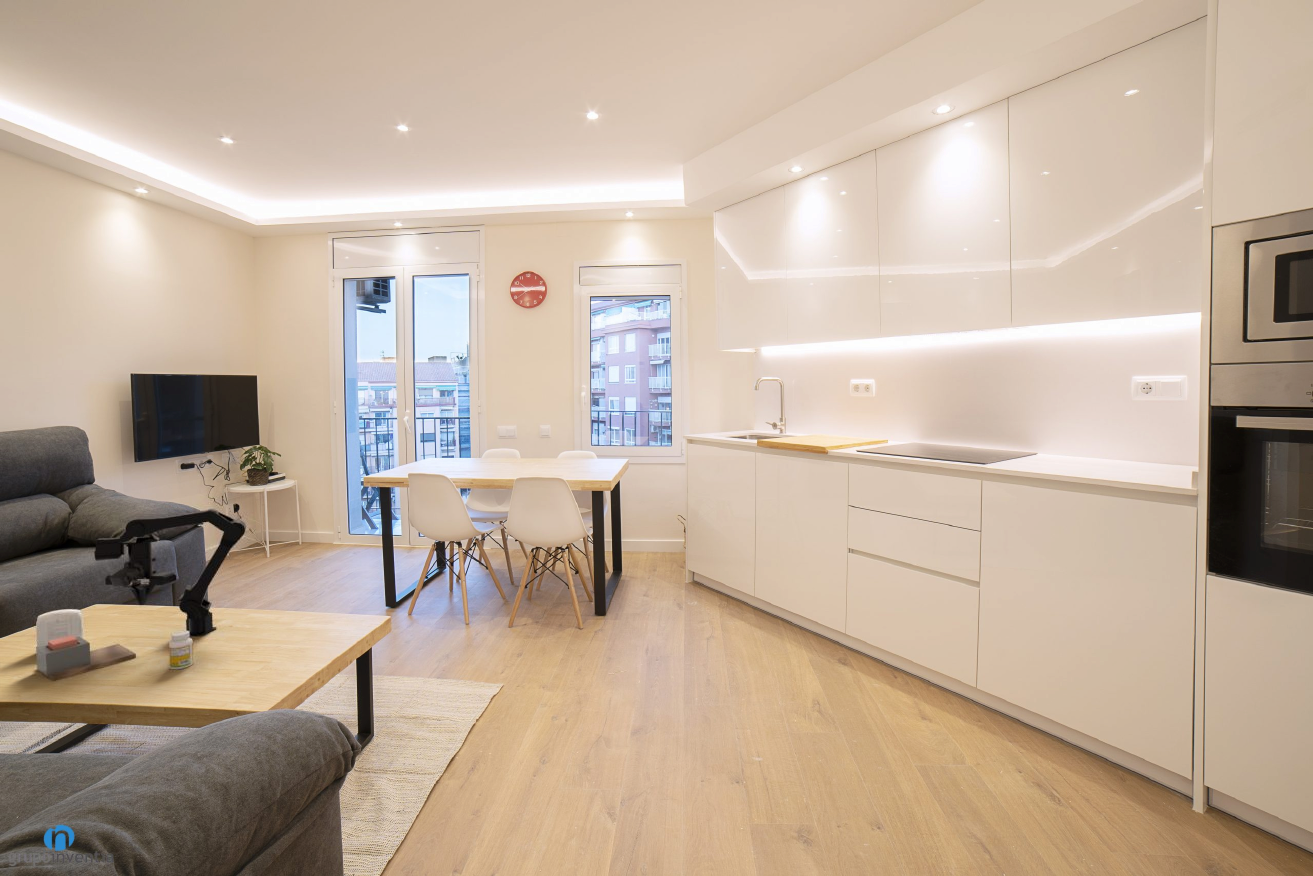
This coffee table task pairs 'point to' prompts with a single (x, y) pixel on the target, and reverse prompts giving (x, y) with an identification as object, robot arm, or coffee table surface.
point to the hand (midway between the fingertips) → (142, 604)
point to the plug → (62, 643)
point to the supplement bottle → (181, 650)
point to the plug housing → (63, 657)
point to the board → (97, 660)
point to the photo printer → (58, 625)
